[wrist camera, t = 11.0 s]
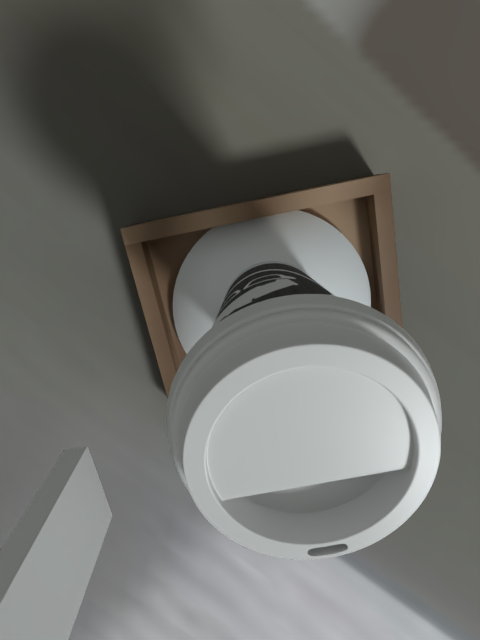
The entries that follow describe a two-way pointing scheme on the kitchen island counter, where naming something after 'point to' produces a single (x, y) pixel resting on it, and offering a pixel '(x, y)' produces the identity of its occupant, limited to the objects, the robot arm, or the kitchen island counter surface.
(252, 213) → the tray
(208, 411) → the coffee cup
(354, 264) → the saucer
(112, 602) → the kitchen island counter surface
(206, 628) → the kitchen island counter surface
